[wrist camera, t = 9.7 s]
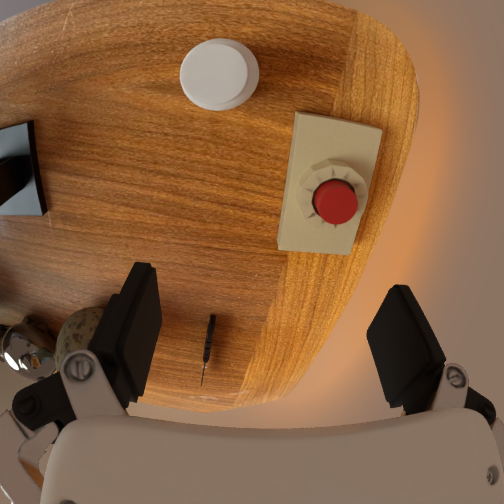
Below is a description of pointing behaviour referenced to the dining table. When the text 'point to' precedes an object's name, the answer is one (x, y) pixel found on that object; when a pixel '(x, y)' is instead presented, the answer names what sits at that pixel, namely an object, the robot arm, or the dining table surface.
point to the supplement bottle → (219, 74)
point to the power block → (325, 180)
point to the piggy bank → (29, 350)
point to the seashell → (0, 334)
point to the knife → (208, 341)
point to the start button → (336, 202)
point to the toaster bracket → (20, 172)
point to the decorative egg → (77, 332)
